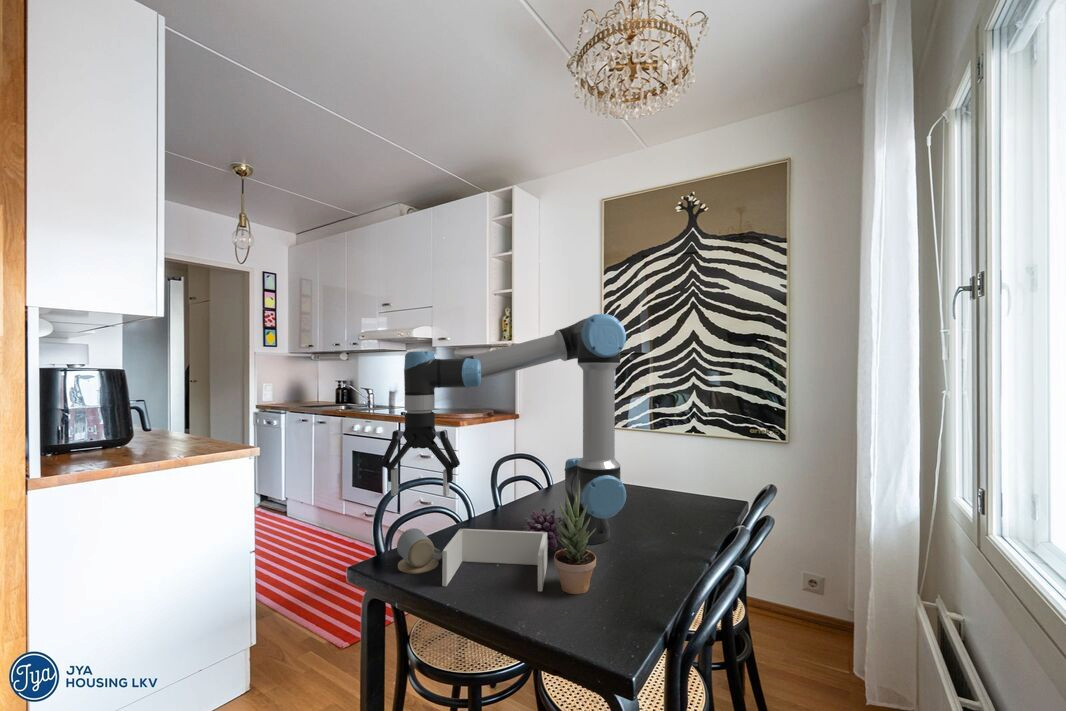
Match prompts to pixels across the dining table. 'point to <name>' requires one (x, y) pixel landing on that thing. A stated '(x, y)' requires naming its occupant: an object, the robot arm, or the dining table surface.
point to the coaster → (407, 568)
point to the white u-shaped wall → (495, 550)
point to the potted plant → (574, 550)
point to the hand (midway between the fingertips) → (420, 495)
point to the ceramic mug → (417, 548)
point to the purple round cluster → (545, 526)
